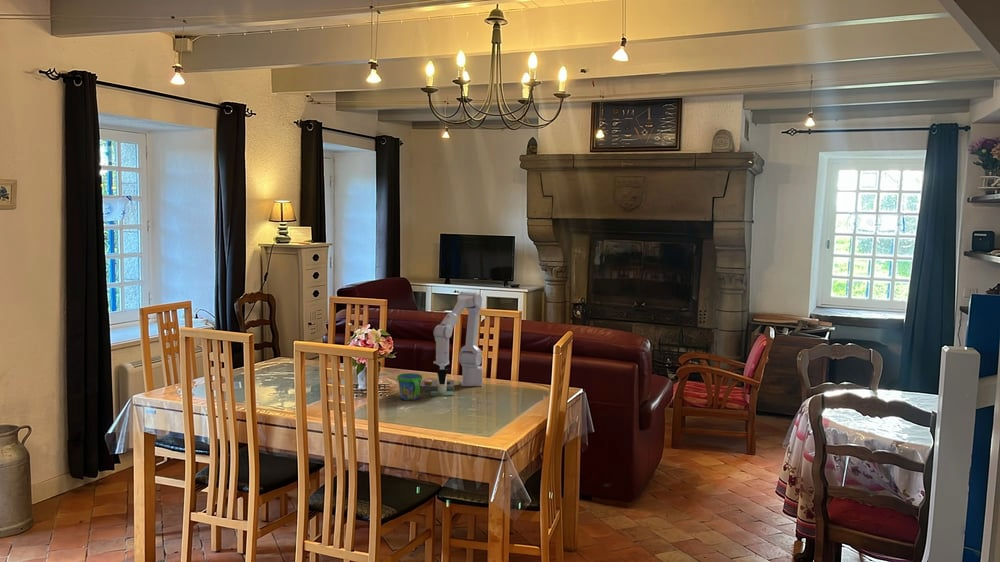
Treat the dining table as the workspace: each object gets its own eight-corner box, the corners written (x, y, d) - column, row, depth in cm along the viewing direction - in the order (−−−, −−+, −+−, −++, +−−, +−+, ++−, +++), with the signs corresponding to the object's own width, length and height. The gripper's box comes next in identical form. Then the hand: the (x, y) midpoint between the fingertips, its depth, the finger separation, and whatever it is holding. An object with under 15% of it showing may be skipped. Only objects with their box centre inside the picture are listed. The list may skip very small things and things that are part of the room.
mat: (453, 392, 331) (453, 391, 331) (453, 396, 325) (453, 394, 325) (430, 392, 330) (430, 391, 330) (430, 396, 324) (430, 394, 324)
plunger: (432, 386, 340) (432, 379, 340) (431, 387, 337) (431, 381, 336) (424, 386, 340) (424, 379, 340) (424, 387, 336) (424, 381, 336)
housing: (454, 385, 345) (454, 380, 345) (454, 391, 333) (454, 386, 333) (421, 385, 344) (422, 380, 344) (421, 391, 332) (421, 386, 332)
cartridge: (446, 391, 330) (446, 372, 329) (446, 394, 326) (446, 374, 325) (437, 391, 329) (437, 372, 329) (437, 394, 326) (437, 374, 325)
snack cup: (427, 402, 314) (427, 378, 313) (403, 404, 310) (403, 380, 309) (415, 393, 328) (415, 371, 327) (392, 395, 323) (392, 373, 323)
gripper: (433, 349, 333) (433, 378, 334) (433, 355, 319) (432, 385, 320) (449, 349, 333) (449, 378, 335) (449, 355, 319) (449, 385, 320)
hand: (442, 382), depth 327 cm, fingers open, 7 cm apart
